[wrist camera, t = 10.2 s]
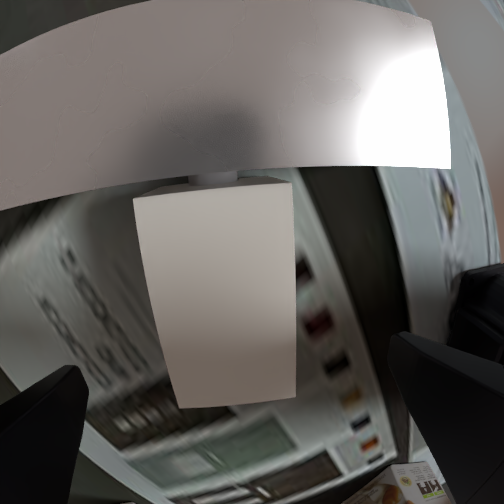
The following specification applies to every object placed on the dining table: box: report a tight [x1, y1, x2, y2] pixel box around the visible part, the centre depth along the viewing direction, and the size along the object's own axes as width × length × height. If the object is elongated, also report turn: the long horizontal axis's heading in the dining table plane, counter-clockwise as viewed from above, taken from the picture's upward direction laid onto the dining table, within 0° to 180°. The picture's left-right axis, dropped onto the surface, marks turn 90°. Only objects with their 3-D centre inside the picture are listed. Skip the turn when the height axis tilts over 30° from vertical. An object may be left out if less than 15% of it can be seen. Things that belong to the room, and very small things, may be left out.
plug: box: [133, 171, 296, 408], centre depth 9 cm, size 4×16×4 cm, turn 4°
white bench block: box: [0, 0, 450, 211], centre depth 8 cm, size 11×4×6 cm, turn 94°
